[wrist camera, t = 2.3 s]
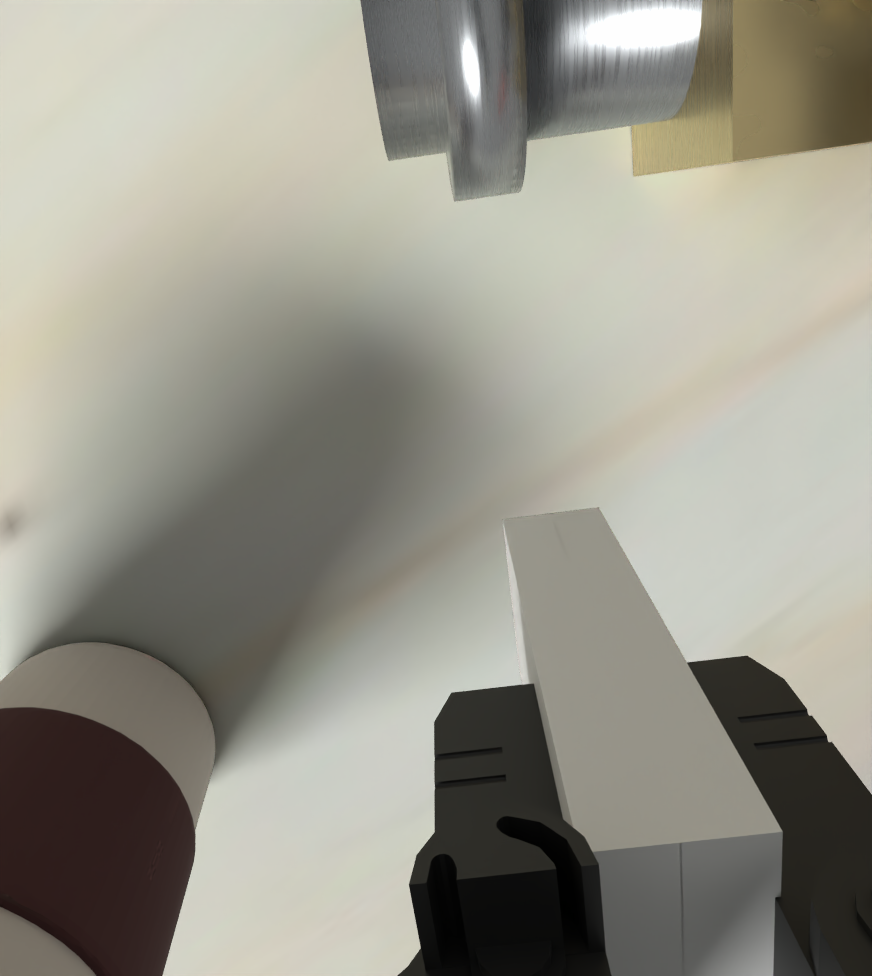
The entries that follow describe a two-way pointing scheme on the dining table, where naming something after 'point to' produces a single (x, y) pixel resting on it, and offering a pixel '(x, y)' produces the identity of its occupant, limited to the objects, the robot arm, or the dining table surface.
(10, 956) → the coffee cup
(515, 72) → the valve
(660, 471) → the dining table surface
